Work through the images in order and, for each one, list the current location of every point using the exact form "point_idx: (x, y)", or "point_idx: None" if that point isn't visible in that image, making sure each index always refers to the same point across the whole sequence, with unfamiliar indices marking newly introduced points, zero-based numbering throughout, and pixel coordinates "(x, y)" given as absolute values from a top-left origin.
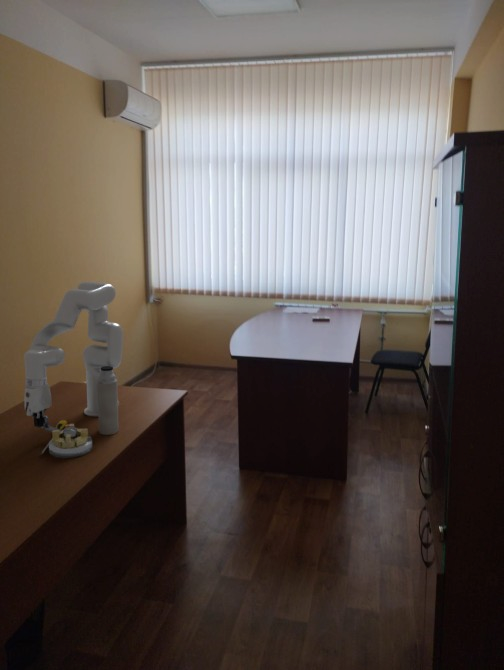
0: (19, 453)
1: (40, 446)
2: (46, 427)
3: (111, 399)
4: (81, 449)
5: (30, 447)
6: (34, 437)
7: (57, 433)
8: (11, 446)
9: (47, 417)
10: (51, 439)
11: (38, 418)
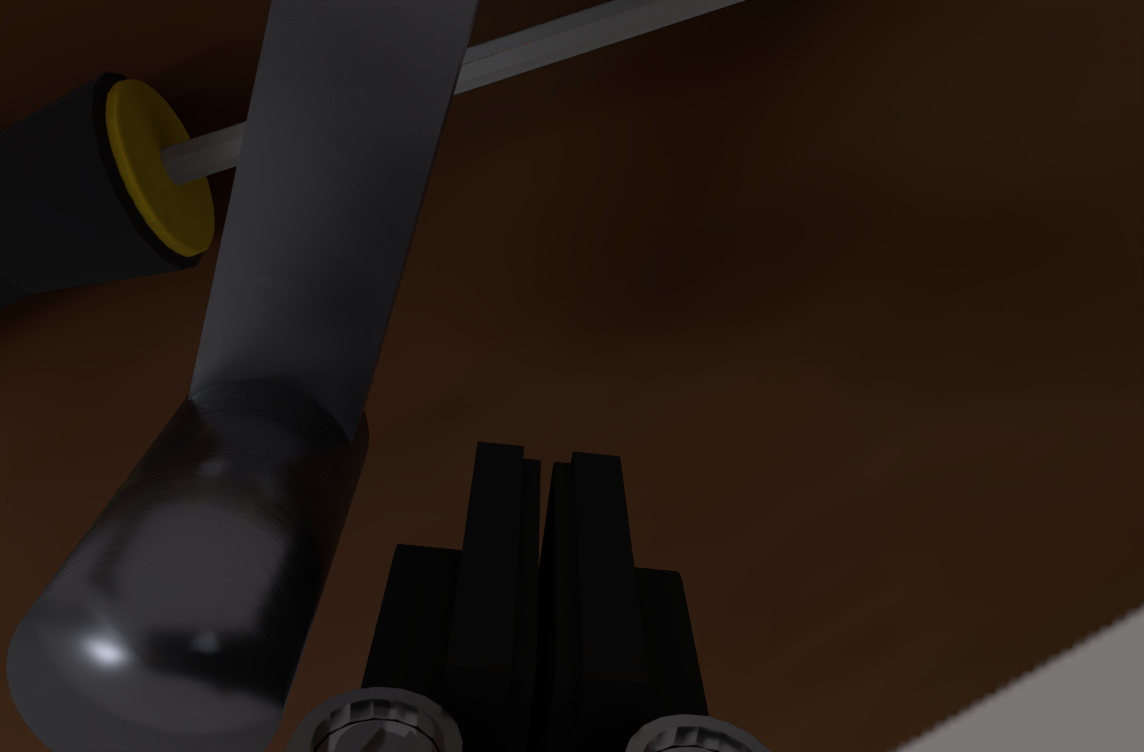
0: (1127, 387)
1: (724, 197)
2: (357, 371)
3: None
4: None
5: (821, 362)
6: (370, 572)
7: None
8: (857, 685)
9: (149, 561)
10: (478, 71)
11: (627, 735)
